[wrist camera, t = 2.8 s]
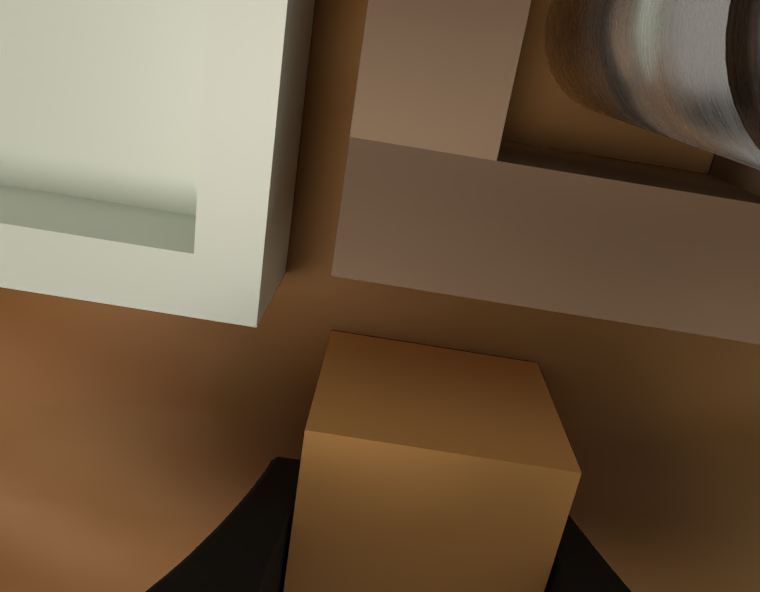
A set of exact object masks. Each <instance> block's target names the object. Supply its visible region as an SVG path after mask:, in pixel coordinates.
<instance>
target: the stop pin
mask: <svg viewBox="0 0 760 592" xmlns="http://www.w3.org/2000/svg"><path fill="white" fill-rule="evenodd" d="M545 49H546V55H547V60H548V63H549V66H550V69H551V72H552V74H553V76H554V78H555V79H556V81H557V83H558V84H559V85H560V87H561V88H562V90H563V91H564V92H565V93H566V94H567V95H568V96H569V97H570V98H572V99H573V100H574V101H575V102H577V103H578V104H580V105H582V106H584V107H585V108H588V109H590V110H593V111H595V112H598V113H601V114H604V115H607V116H610V117H612V118H615V119H618V120H621V121H624V122H626V123H629V124H632V125H635V126H638V127H640V128H643V129H646V130H649V131H652V132H654V133H657V134H660V135H663V136H666V137H668V138H671V139H674V140H677V141H680V142H682V143H685V144H688V145H691V146H694V147H696V148H699V149H702V150H705V151H708V152H710V153H713V154H716V155H719V156H722V157H725V158H727V159H730V160H733V161H736V162H739V163H741V164H744V165H747V166H750V167H753V168H755V169H758V170H760V0H553V1H552V3H551V6H550V9H549V13H548V16H547V21H546V27H545Z"/></svg>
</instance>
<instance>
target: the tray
mask: <svg viewBox="0 0 760 592" xmlns="http://www.w3.org/2000/svg"><path fill="white" fill-rule="evenodd" d="M314 8H315V0H0V287H3V288H10V289H16V290H22V291H29V292H35V293H41V294H48V295H54V296H60V297H67V298H73V299H79V300H86V301H92V302H98V303H105V304H111V305H117V306H124V307H130V308H136V309H142V310H149V311H155V312H161V313H168V314H174V315H180V316H187V317H193V318H199V319H206V320H212V321H218V322H225V323H231V324H237V325H244V326H250V327H257V326H258V324H259V322H260V320H261V318H262V316H263V314H264V312H265V311H266V309H267V307H268V305H269V303H270V301H271V299H272V298H273V296H274V294H275V292H276V290H277V288H278V286H279V285H280V283H281V281H282V279H283V277H284V275H285V273H286V264H287V254H288V245H289V236H290V227H291V218H292V209H293V200H294V190H295V181H296V172H297V163H298V154H299V145H300V136H301V126H302V117H303V108H304V99H305V90H306V81H307V72H308V62H309V53H310V44H311V35H312V26H313V17H314Z"/></svg>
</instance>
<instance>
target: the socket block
mask: <svg viewBox="0 0 760 592" xmlns="http://www.w3.org/2000/svg"><path fill="white" fill-rule="evenodd" d="M530 5H531V0H368V6H367V13H366V21H365V28H364V35H363V43H362V50H361V57H360V65H359V72H358V79H357V87H356V94H355V102H354V109H353V116H352V124H351V131H350V138H349V146H348V153H347V160H346V168H345V175H344V182H343V190H342V197H341V205H340V212H339V219H338V227H337V234H336V241H335V249H334V256H333V263H332V271H331V276H334V277H341V278H347V279H353V280H360V281H366V282H372V283H378V284H385V285H391V286H397V287H403V288H410V289H416V290H422V291H428V292H435V293H441V294H447V295H453V296H460V297H466V298H472V299H478V300H485V301H491V302H497V303H503V304H510V305H516V306H522V307H528V308H535V309H541V310H547V311H554V312H560V313H566V314H572V315H579V316H585V317H591V318H597V319H604V320H610V321H616V322H622V323H629V324H635V325H641V326H647V327H654V328H660V329H666V330H672V331H679V332H685V333H691V334H697V335H704V336H710V337H716V338H722V339H729V340H735V341H741V342H747V343H754V344H760V170H758V169H755V168H753V167H750V166H747V165H744V164H741V163H739V162H736V161H733V160H730V159H727V158H725V157H722V156H719V155H716V154H715V157H714V160H713V163H712V166H711V169H710V172H709V174H703V173H696V172H690V171H684V170H678V169H672V168H666V167H660V166H654V165H648V164H642V163H636V162H630V161H623V160H617V159H611V158H605V157H599V156H593V155H587V154H581V153H575V152H569V151H563V150H556V149H550V148H544V147H538V146H532V145H526V144H520V143H514V142H508V141H502V140H501V138H502V134H503V129H504V124H505V120H506V115H507V111H508V106H509V101H510V97H511V92H512V88H513V83H514V79H515V74H516V69H517V65H518V60H519V56H520V51H521V46H522V42H523V37H524V33H525V28H526V23H527V19H528V14H529V10H530Z"/></svg>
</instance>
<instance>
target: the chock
mask: <svg viewBox="0 0 760 592" xmlns="http://www.w3.org/2000/svg"><path fill="white" fill-rule="evenodd" d="M581 474H582V473H581V470H580V468H579V465H578V463H577V460H576V458H575V455H574V453H573V450H572V448H571V445H570V443H569V440H568V438H567V435H566V433H565V431H564V428H563V426H562V423H561V421H560V418H559V416H558V413H557V411H556V408H555V406H554V403H553V401H552V398H551V396H550V393H549V391H548V389H547V386H546V384H545V381H544V379H543V376H542V374H541V371H540V369H539V366H538V364H537V363H535V362H528V361H522V360H516V359H509V358H503V357H497V356H491V355H484V354H478V353H472V352H465V351H459V350H453V349H446V348H440V347H434V346H427V345H421V344H415V343H408V342H402V341H396V340H389V339H383V338H377V337H371V336H364V335H358V334H352V333H345V332H339V331H333V330H332V331H331V334H330V338H329V342H328V345H327V349H326V353H325V357H324V360H323V364H322V368H321V372H320V375H319V379H318V383H317V386H316V390H315V394H314V398H313V401H312V405H311V409H310V413H309V416H308V420H307V424H306V427H305V432H304V440H303V447H302V455H301V462H300V470H299V477H298V485H297V493H296V500H295V508H294V515H293V523H292V530H291V538H290V545H289V553H288V560H287V568H286V575H285V583H284V591H283V592H544V590H545V587H546V584H547V581H548V578H549V575H550V571H551V568H552V565H553V562H554V559H555V556H556V553H557V549H558V546H559V543H560V540H561V537H562V534H563V531H564V527H565V524H566V521H567V518H568V515H569V512H570V509H571V505H572V502H573V499H574V496H575V493H576V490H577V487H578V483H579V480H580V477H581Z"/></svg>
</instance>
